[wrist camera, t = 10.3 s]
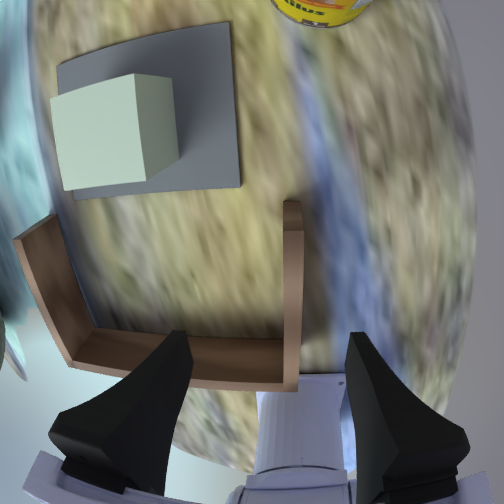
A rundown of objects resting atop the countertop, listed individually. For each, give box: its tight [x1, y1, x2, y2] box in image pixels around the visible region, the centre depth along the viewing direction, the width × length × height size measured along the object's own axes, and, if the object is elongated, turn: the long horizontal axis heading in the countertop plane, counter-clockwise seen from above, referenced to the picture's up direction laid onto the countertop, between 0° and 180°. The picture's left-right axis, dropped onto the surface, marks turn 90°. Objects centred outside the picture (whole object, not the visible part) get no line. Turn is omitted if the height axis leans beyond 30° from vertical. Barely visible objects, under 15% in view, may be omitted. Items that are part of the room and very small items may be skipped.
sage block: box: [50, 73, 180, 191], centre depth 15 cm, size 5×5×5 cm
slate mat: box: [56, 22, 241, 201], centre depth 17 cm, size 10×12×1 cm
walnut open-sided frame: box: [13, 201, 304, 392], centre depth 21 cm, size 12×19×4 cm, turn 93°
